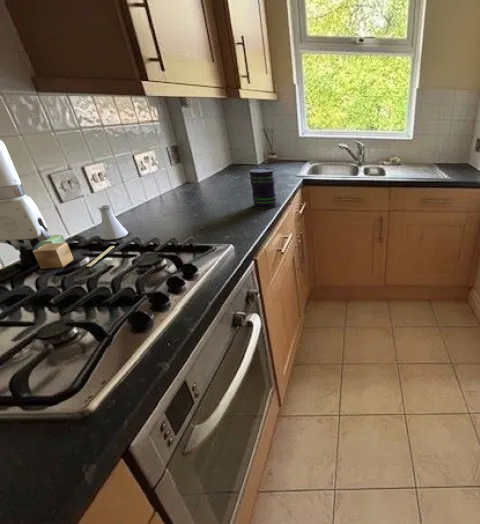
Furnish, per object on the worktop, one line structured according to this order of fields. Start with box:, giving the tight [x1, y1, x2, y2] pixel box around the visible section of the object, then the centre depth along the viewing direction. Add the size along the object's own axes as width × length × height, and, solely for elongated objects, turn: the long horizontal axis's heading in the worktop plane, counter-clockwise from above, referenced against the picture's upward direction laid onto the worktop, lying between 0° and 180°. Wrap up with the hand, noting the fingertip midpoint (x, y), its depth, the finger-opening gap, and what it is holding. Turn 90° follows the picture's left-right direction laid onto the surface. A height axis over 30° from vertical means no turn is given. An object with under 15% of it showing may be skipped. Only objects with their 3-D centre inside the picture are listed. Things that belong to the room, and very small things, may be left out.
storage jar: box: [249, 161, 278, 210], centre depth 139 cm, size 10×10×18 cm
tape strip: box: [86, 245, 115, 268], centre depth 93 cm, size 1×14×1 cm, turn 13°
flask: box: [97, 204, 129, 241], centre depth 105 cm, size 7×7×10 cm
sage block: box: [37, 234, 67, 249], centre depth 92 cm, size 5×5×5 cm
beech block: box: [33, 242, 74, 270], centre depth 87 cm, size 5×5×5 cm
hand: (34, 261), depth 87 cm, fingers closed
